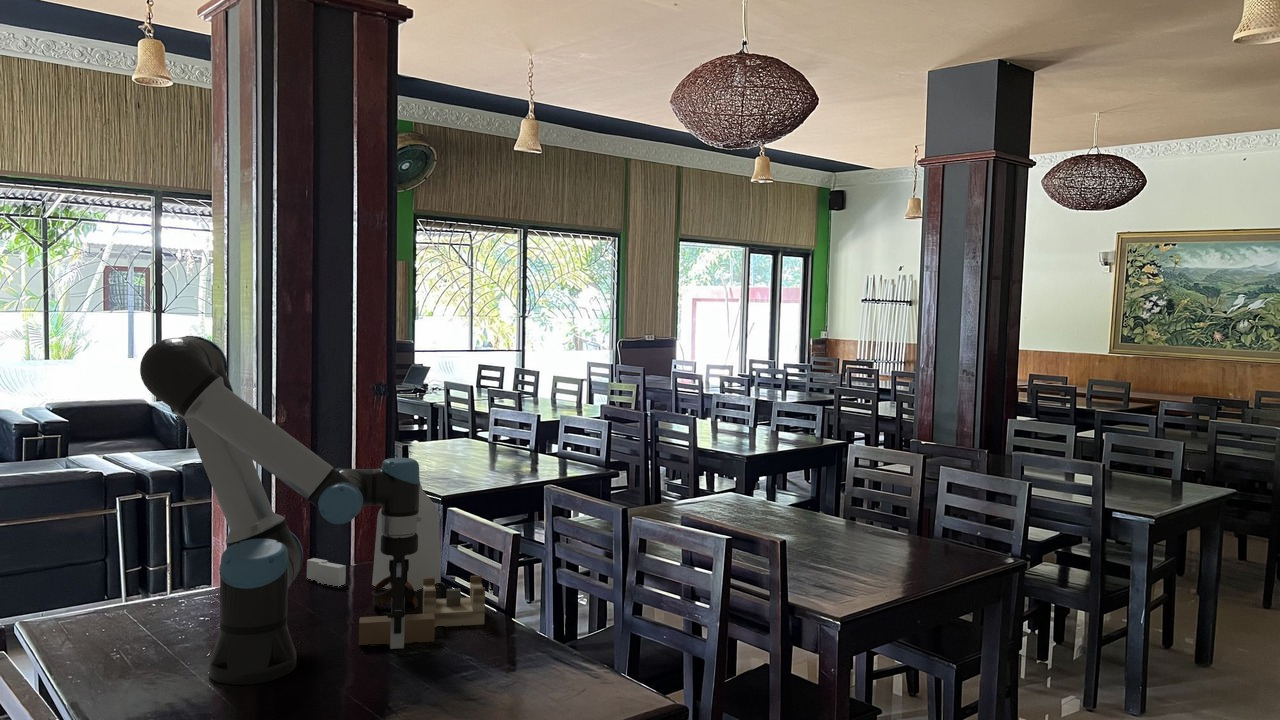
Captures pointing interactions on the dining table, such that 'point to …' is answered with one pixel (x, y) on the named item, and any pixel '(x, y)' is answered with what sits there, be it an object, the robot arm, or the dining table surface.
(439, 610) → the display stand
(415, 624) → the brown wooden block
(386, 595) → the brown looped band sculpture
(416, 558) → the milk
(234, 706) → the dining table surface
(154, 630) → the dining table surface
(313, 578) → the napkin holder
